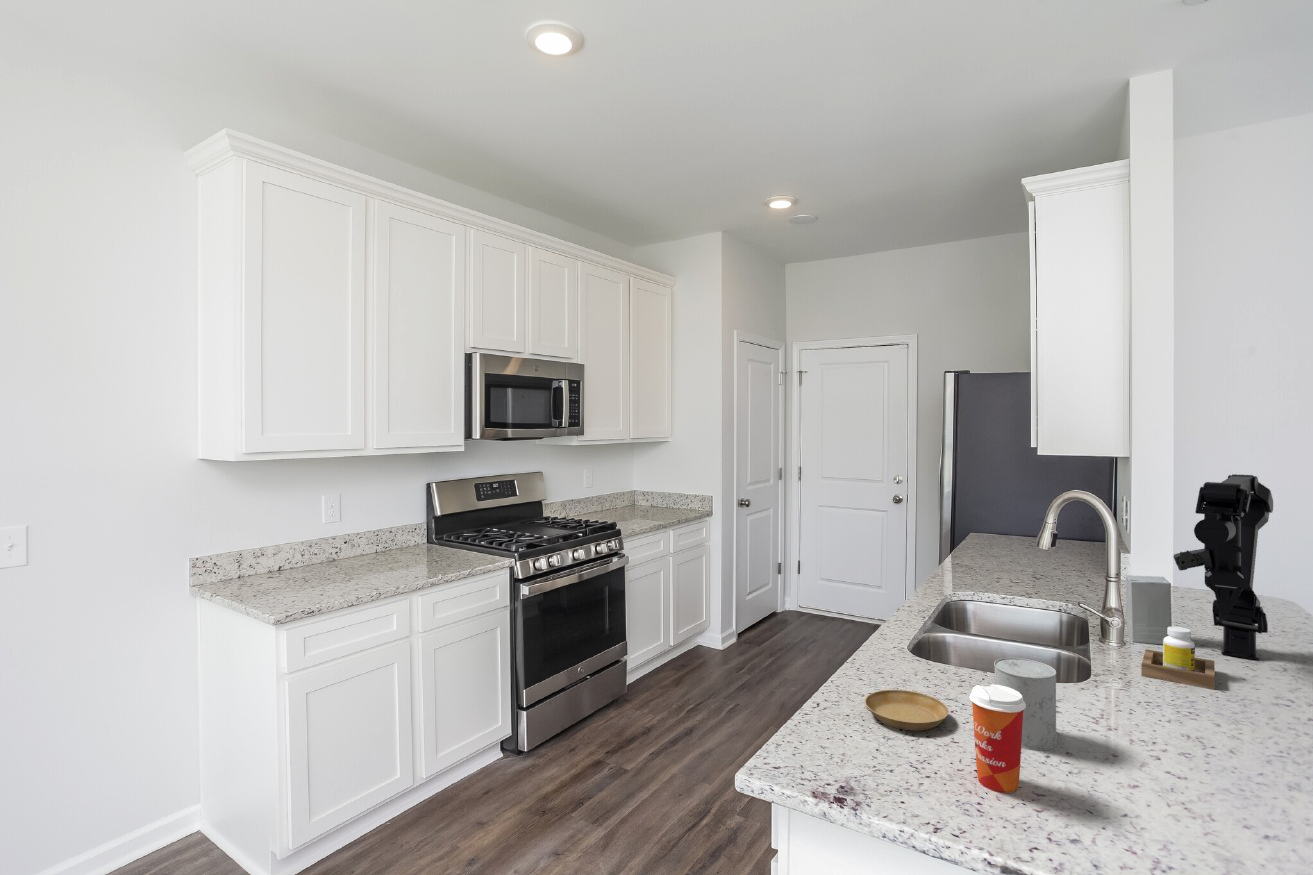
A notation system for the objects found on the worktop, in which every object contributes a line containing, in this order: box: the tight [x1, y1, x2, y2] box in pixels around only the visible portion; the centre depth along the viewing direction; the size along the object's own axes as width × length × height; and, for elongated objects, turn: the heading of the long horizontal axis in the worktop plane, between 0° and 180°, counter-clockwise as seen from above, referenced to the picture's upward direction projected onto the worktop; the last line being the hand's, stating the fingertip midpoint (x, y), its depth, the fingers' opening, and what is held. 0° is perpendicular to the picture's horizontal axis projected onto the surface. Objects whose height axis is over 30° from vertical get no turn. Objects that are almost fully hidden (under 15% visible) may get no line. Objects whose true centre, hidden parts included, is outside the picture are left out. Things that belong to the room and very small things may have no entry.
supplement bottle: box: [1162, 626, 1196, 672], centre depth 142 cm, size 5×5×10 cm
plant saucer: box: [864, 689, 950, 732], centre depth 124 cm, size 15×15×3 cm
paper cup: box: [969, 683, 1026, 794], centre depth 101 cm, size 8×8×14 cm
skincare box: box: [1125, 574, 1173, 645], centre depth 163 cm, size 8×7×16 cm
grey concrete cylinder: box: [993, 657, 1058, 751], centre depth 115 cm, size 10×10×12 cm
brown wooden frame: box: [1140, 648, 1216, 691], centre depth 142 cm, size 12×12×2 cm
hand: (1223, 611), depth 143 cm, fingers open, 9 cm apart
